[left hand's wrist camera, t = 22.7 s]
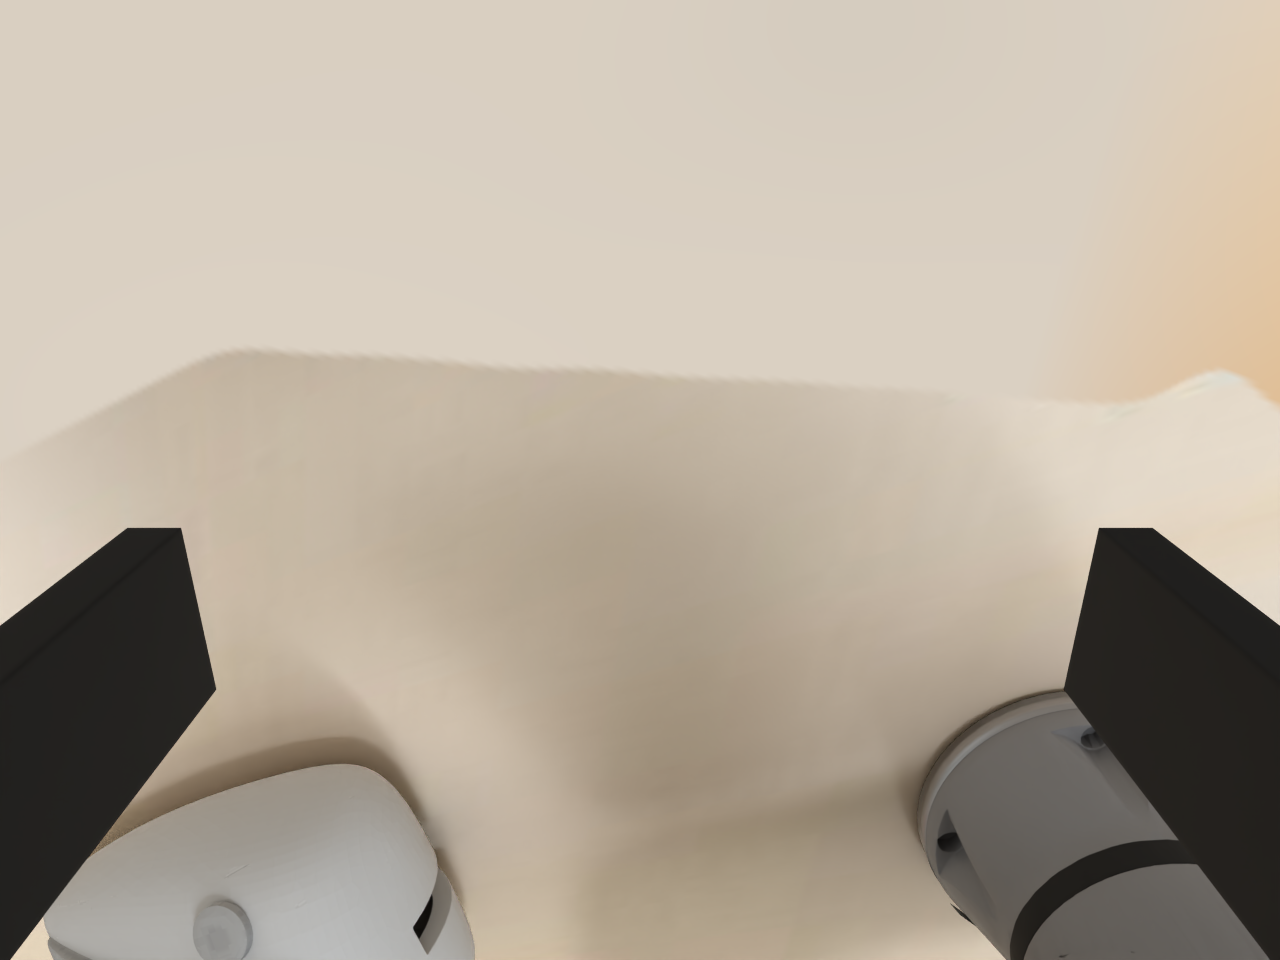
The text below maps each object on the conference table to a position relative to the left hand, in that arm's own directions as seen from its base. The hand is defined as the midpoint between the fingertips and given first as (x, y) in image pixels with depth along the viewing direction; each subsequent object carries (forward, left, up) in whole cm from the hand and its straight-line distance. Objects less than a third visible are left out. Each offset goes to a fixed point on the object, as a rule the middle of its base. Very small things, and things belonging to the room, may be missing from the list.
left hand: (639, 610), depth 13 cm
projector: (+39, +7, -27) cm, 48 cm away
